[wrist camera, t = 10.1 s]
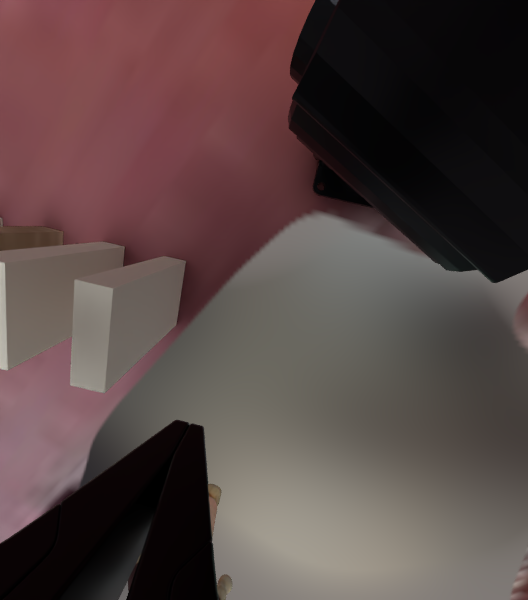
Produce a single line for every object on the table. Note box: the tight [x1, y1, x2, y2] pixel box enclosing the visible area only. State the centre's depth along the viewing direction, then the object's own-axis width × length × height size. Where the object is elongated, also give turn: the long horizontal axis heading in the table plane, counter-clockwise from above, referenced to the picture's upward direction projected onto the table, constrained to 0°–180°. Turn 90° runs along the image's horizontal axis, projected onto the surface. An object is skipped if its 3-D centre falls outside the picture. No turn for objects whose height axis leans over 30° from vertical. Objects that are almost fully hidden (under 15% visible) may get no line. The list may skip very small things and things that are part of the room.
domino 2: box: [0, 242, 125, 370], centre depth 16 cm, size 2×5×9 cm, turn 167°
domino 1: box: [70, 256, 186, 393], centre depth 16 cm, size 2×5×9 cm, turn 168°
